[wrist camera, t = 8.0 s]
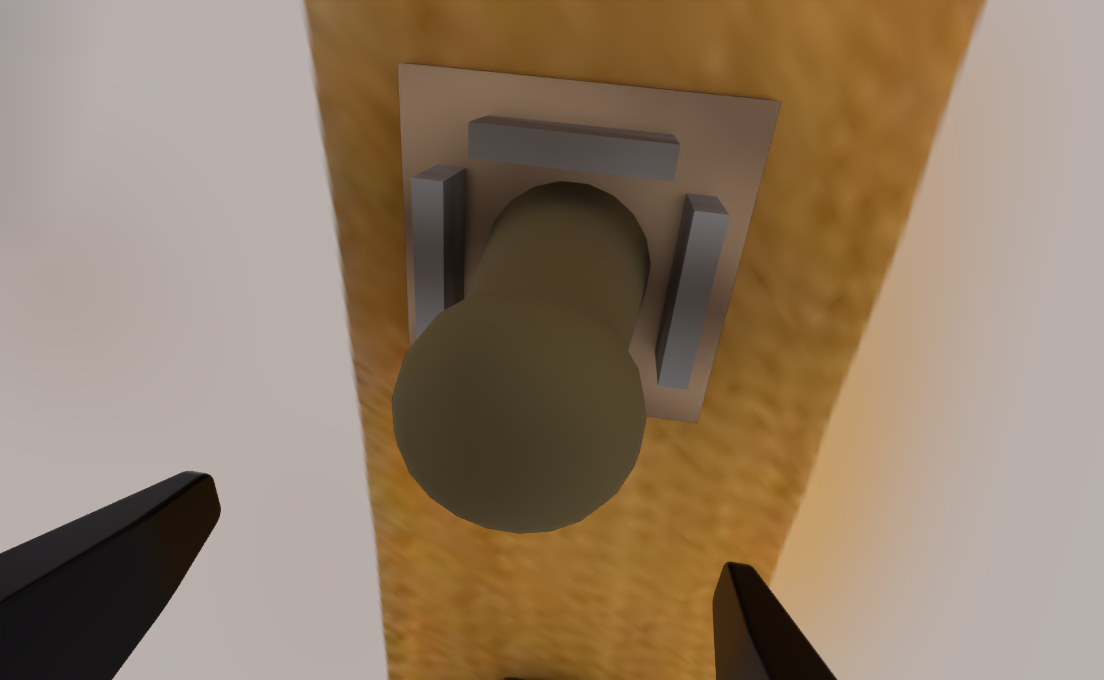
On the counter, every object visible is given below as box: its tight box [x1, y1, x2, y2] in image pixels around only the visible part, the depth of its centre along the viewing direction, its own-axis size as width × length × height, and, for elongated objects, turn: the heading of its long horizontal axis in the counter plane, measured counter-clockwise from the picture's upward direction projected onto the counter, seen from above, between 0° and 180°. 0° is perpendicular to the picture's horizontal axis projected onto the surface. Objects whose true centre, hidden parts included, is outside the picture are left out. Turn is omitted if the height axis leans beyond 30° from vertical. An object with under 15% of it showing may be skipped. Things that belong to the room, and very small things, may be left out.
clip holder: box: [398, 63, 781, 423], centre depth 19 cm, size 12×12×3 cm
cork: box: [392, 181, 651, 534], centre depth 15 cm, size 6×6×11 cm
